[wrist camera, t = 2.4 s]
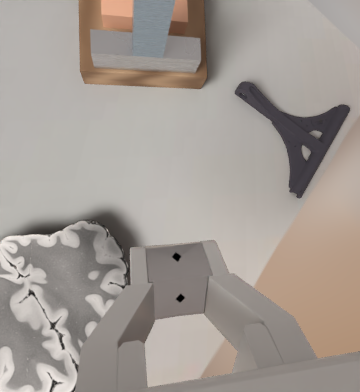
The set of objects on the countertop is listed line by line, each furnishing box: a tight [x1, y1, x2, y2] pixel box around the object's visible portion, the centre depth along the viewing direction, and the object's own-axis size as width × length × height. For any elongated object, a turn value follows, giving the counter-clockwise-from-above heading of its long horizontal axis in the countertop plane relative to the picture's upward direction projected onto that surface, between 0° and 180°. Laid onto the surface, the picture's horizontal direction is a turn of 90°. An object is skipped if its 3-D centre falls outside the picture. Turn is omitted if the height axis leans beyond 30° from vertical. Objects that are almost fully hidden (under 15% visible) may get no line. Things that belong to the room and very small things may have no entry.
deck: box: [79, 0, 207, 89], centre depth 32 cm, size 14×11×3 cm
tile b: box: [168, 0, 188, 34], centre depth 30 cm, size 4×4×2 cm
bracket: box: [235, 82, 350, 198], centre depth 36 cm, size 14×15×3 cm
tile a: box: [101, 0, 133, 30], centre depth 29 cm, size 4×4×2 cm
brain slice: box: [0, 220, 129, 392], centre depth 29 cm, size 20×17×3 cm
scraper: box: [90, 0, 201, 74], centre depth 24 cm, size 11×2×13 cm, turn 92°
